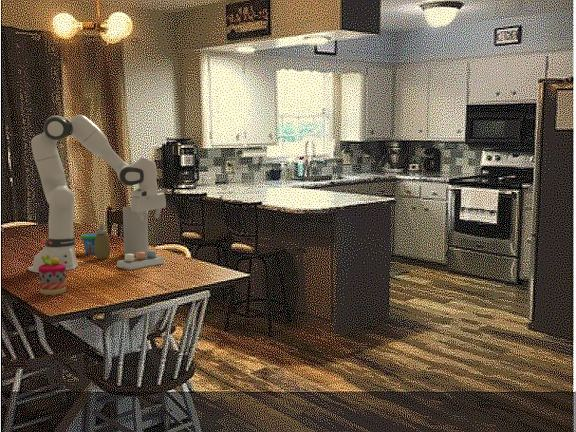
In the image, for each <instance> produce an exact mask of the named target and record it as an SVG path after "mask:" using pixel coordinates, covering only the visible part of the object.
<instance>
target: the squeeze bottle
mask: <svg viewBox="0 0 576 432" xmlns="http://www.w3.org/2000/svg"><path fill="white" fill-rule="evenodd" d="M98 229H99V230H97V231H96V233H97V235H96V236H95V248H94V252H95V254H94V255H95V258H97V259H98V260H105V259H109V257H110V254H111V245H110V238H109V234H107V230H106V229H105V227H104V224H103V223H100V224H99V227H98Z"/></svg>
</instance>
